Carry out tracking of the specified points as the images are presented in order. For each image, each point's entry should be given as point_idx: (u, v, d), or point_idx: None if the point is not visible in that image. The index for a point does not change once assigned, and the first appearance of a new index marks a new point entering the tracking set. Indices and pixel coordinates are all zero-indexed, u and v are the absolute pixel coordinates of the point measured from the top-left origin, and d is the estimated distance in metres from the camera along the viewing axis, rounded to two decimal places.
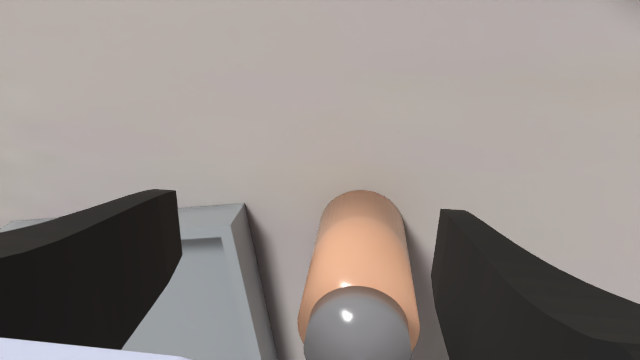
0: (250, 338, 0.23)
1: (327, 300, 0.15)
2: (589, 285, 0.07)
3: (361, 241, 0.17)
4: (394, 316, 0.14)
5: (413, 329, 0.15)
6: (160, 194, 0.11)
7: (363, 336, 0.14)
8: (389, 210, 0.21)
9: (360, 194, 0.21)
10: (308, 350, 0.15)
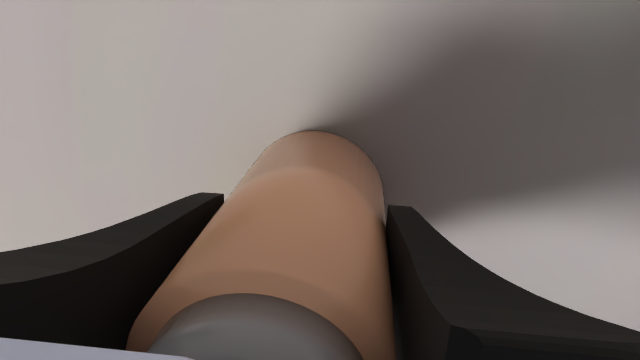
0: None
1: None
2: (499, 277, 0.07)
3: None
4: None
5: (268, 283, 0.06)
6: (211, 197, 0.11)
7: None
8: (256, 162, 0.12)
9: None
10: None
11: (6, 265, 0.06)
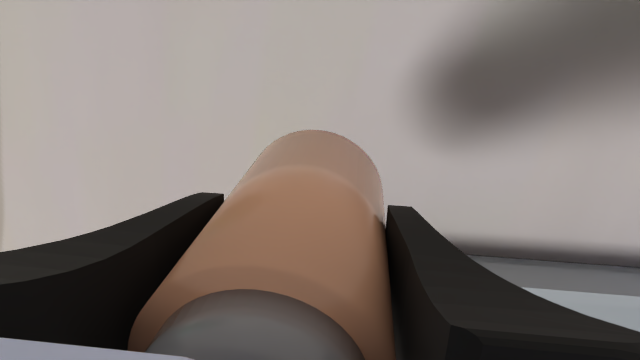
0: None
1: None
2: (499, 278, 0.07)
3: None
4: None
5: (268, 279, 0.06)
6: (211, 197, 0.11)
7: None
8: (256, 160, 0.12)
9: None
10: None
11: (6, 265, 0.06)
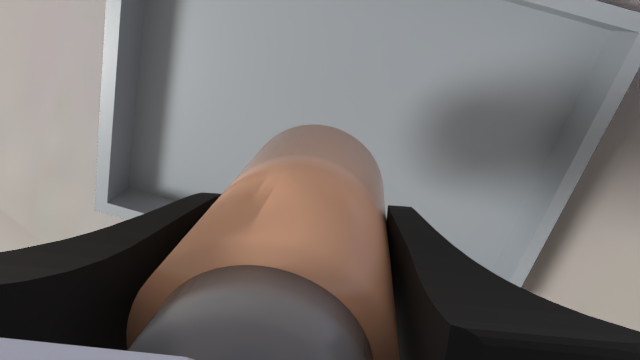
0: None
1: None
2: (499, 278, 0.07)
3: None
4: (143, 332, 0.06)
5: (258, 252, 0.06)
6: (211, 197, 0.11)
7: None
8: None
9: None
10: None
11: (6, 265, 0.06)
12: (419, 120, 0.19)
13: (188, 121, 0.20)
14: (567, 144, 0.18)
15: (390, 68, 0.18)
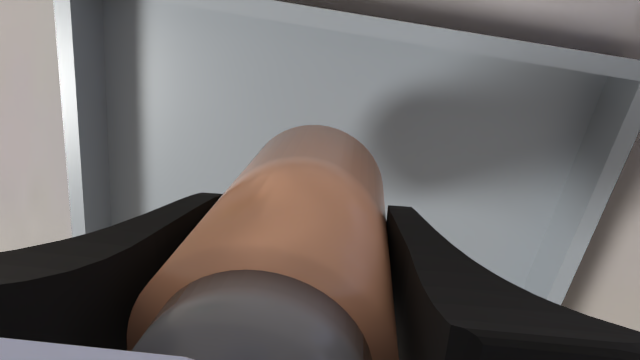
0: (249, 7, 0.14)
1: None
2: (499, 278, 0.07)
3: None
4: (143, 338, 0.06)
5: (257, 257, 0.06)
6: (211, 198, 0.11)
7: None
8: None
9: None
10: None
11: (6, 265, 0.06)
12: (408, 183, 0.18)
13: (166, 203, 0.19)
14: (573, 199, 0.16)
15: (371, 133, 0.17)
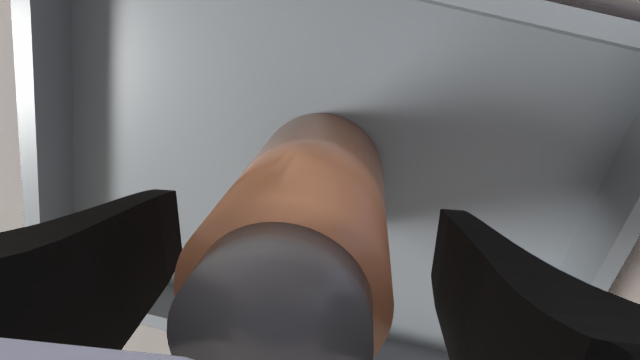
0: None
1: None
2: (589, 285, 0.07)
3: None
4: (194, 271, 0.07)
5: (281, 211, 0.08)
6: (160, 194, 0.11)
7: (229, 332, 0.07)
8: None
9: None
10: None
11: None
12: (421, 175, 0.15)
13: (138, 184, 0.16)
14: (612, 204, 0.14)
15: (381, 114, 0.15)
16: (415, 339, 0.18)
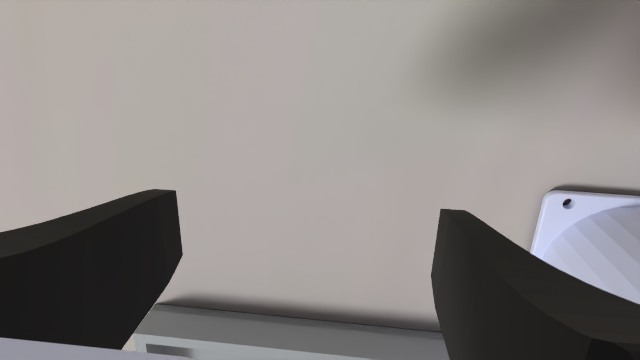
0: (257, 351, 0.22)
1: None
2: (589, 285, 0.07)
3: None
4: None
5: None
6: (160, 194, 0.11)
7: None
8: None
9: None
10: None
11: None
12: None
13: None
14: None
15: None
16: None
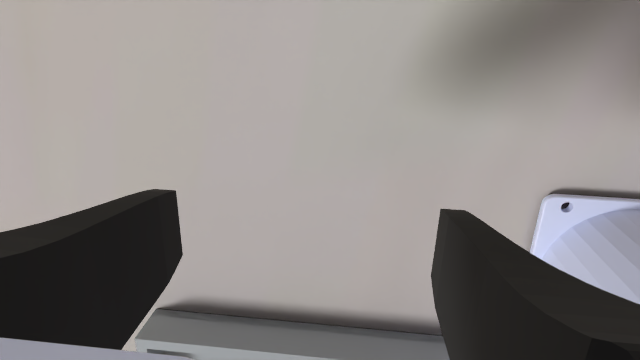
0: (258, 356, 0.22)
1: None
2: (589, 285, 0.07)
3: None
4: None
5: None
6: (160, 194, 0.11)
7: None
8: None
9: None
10: None
11: None
12: None
13: None
14: None
15: None
16: None
